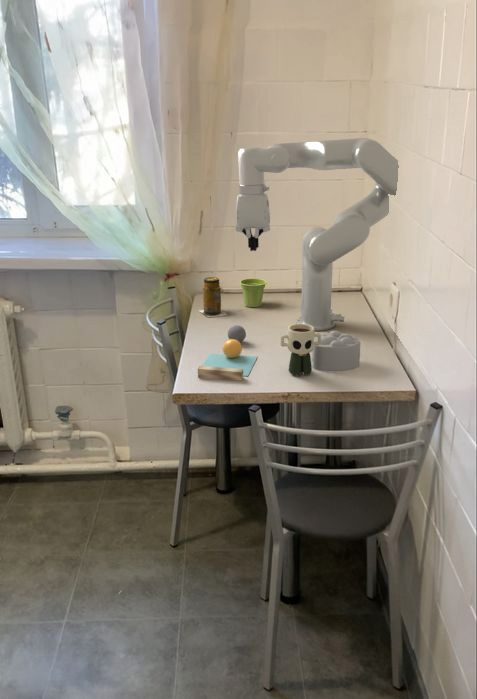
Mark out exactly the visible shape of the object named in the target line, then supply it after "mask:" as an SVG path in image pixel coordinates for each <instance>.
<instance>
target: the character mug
mask: <svg viewBox="0 0 477 699" xmlns="http://www.w3.org/2000/svg"><path fill="white" fill-rule="evenodd" d="M321 334H322V333H317V332H316V333H315V331H314V327H313V326H311V325H308V324H296V323H294V324H293V323H292V324H291V325H288V327H287V334H280V346H281V347H287V349H288V351H289V352H290V353H291V354H290V359H289V365H288V371H289V373H290V374H292V375H293V376H301V374H302V373H303V376H308V375H310V374H311V373H312V372H313V371H312V370H313V365H312V356H311V354H310V353H311V352H312V351H313V349H314V345H320V344H321ZM314 337H318V341H317V342H314ZM285 339H287V342H285Z"/></svg>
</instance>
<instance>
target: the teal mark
mask: <svg viewBox="0 0 477 699" xmlns="http://www.w3.org/2000/svg"><path fill="white" fill-rule="evenodd" d="M257 359H258V356H256V355H243V354H242V355H241V354H240V355H239V356H238V357H236V358H228V357H227V356H226V355H225V354H224V353H213V352H212V353H211V352H210V353H209V354H208V356H207V357H206V359H205V360H204V362H203V363H202V365H201V366H207V367H221V368H234V369H243V377H249V375H250V372H251V370H252V369H253V367H254V365H255V363H256V360H257ZM196 372H197V374H198V371H196Z"/></svg>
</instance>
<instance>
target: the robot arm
mask: <svg viewBox="0 0 477 699" xmlns="http://www.w3.org/2000/svg"><path fill="white" fill-rule="evenodd" d="M237 160H238V183H239V184H238V185H239V187H238V188H239V194H237V196H236V205H235V225H236V227H235V231H236V232H239V233H243V234H244V235H245V236H246V238H247V244H248V246H247V247H248V249H249V248H250V249H249V250H250V252H256V251H257V249H258V248H259V247H260V246H259V245H260V243H259V237H260V236H261V235H262V234H263V233H267V232H270V231H271V225H270V224H271V216H270V215H271V214H270V213H271V212H270V203H269V197H268V194H267V193H266V192H268V191H270V186H269V185H265V173H274V174H278V173H282V172H285V171H286V170H287V169H295V168H302V169H303V168H306V169H313V170H318V171H333V170H335V171H336V170H346V169H347V170H348V169H361V170H362V171H363V172H364V173H366V175H367V176H368V177H370V178H371V180H373V181H374V182H375V185H374V187H373V189H372V191H370V193H369V194H368V195H367V196H365V197H364V198H363V199H361V200H359V201H358V202H356V203H355V204H352V205H351V206H350V207H348V208H346V209H344V210H343V211H341V212H339V213H338V214H337V215H336V216H335V218H334V220H333V224H332V226H330V227H329V228H327V229H326V228H325V227H322V226H314V227H312V228H309V229H308V230H307V231H306V232H305V233H304V235H303V237H302V240H301V259H302V261H301V262H302V264H301V266H302V268H301V269H302V270H301V272H302V273H301V303H300V304H301V306H300V308H301V310H300V312H301V313H300V317H297V319H296V321H295V322H296V323H295V324H308V325H311V326H313V327H314V332H315V331H317V332H318V331H327V330H331V329H332V328H334V327H335V326H336V322H340V323H344V322H345V315H342V314H341V313H340V314H338V313H333V309H332V292H333V291H332V289H333V288H332V287H333V270H334V268H333V267H334V266H333V262H335V261H338V260H339V259H340V258H342V257H343V256H345V255H347V254H348V253H350V252H352V251H353V250H355V249H356V248H358V247H360V246H361V245H362V244H364V243H365V241H366V240H367V239H368V238H369V235H370V232H371V231H370V230H371V227H373V226H375V225H376V224H377V223H379V222H380V221H382V220H383V219H385V218H386V217H387V216H389V214H390V213H389V196H388V194H390V195H394V196H395V195H396V191H397V182H398V168H399V165H398V161H399V160H398V159H397V158H396V157H395V156H393V155H392V154H391V153H390V151H388V150H387V149H386V147H384V146H383V145H382V144H380V143H379V142H378V141H376V140H375V139H374V140H373V139H371V138H369V137H368V138H367V137H359V138H358V137H357V138H344V139H342V138H341V139H329V140H328V139H327V140H315V141H304V142H303V141H302V142H301V141H299V142H285V143H284V142H283V143H273V144H270V145H269V146H267V147H265V148H262V147H259V146H249V147H242V148H240V149H239V150H238V154H237ZM388 213H389V214H388ZM252 229H255V230H254V235H253V232H252Z"/></svg>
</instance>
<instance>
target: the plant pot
mask: <svg viewBox="0 0 477 699" xmlns="http://www.w3.org/2000/svg"><path fill="white" fill-rule="evenodd" d="M239 284H240V286H241V288H242V289H241V290H242V295H243V296H242V297H243V305H244V306H245V307H247V308H260V307H261V306H262V304H263V299H264V297H263V296H264V292H265V287H266V284H267V281H266V280H265V279H262V278H243V279H241V280H240V281H239Z"/></svg>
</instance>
